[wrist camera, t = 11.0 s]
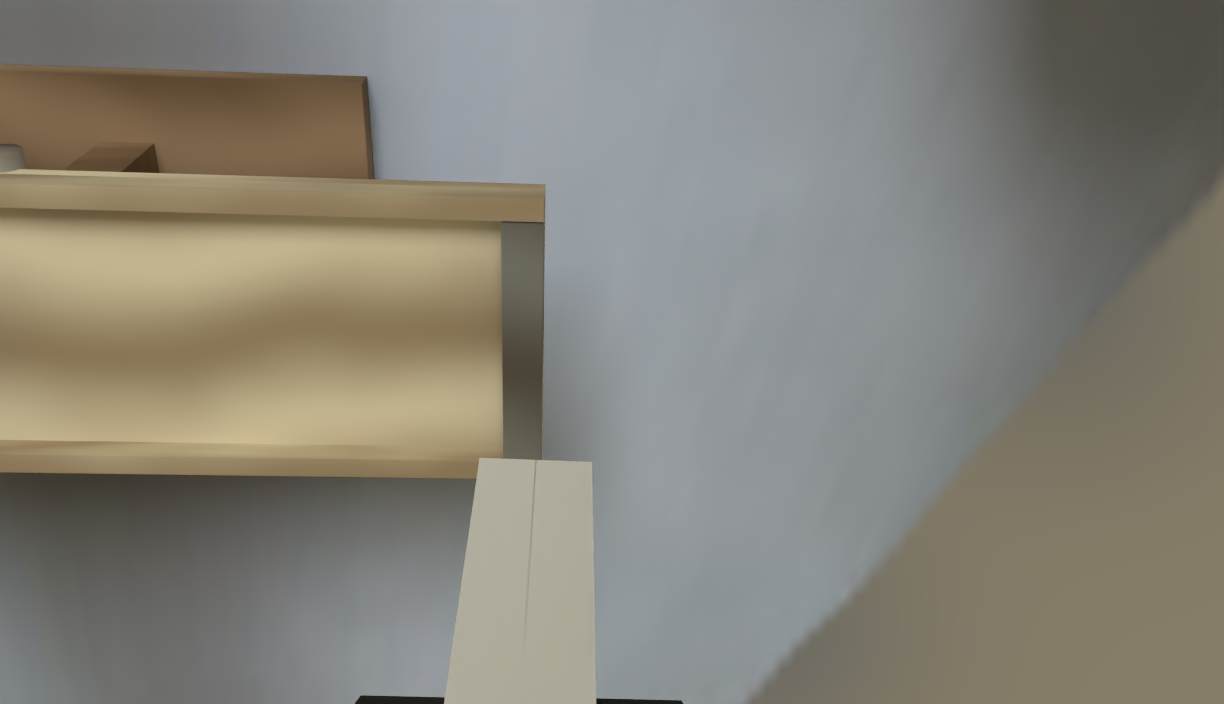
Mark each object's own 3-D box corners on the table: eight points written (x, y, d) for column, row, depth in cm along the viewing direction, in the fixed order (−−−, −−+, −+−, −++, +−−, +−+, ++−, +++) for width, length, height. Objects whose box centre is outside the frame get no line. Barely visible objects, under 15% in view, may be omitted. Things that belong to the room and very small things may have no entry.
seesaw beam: (-561, 126, 29) (-680, 161, 26) (546, 160, 31) (543, 196, 28) (-409, 417, 34) (-496, 473, 31) (542, 432, 36) (540, 486, 33)
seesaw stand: (-121, 60, 38) (-297, 129, 30) (366, 76, 39) (318, 147, 31) (-49, 300, 43) (-184, 414, 35) (383, 309, 44) (345, 420, 36)
